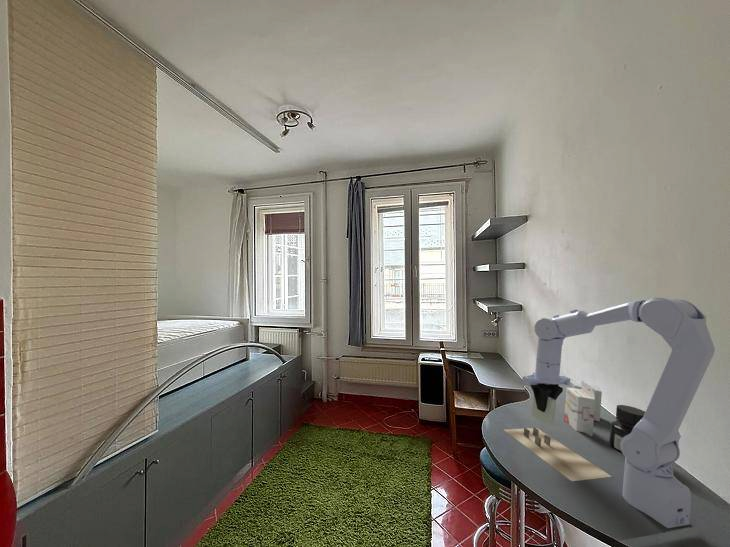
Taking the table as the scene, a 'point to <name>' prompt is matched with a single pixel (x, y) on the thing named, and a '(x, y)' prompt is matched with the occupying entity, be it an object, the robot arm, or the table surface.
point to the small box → (597, 399)
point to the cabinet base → (559, 456)
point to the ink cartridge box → (580, 408)
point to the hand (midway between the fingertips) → (543, 410)
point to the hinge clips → (537, 439)
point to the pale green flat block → (549, 413)
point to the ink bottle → (623, 424)
